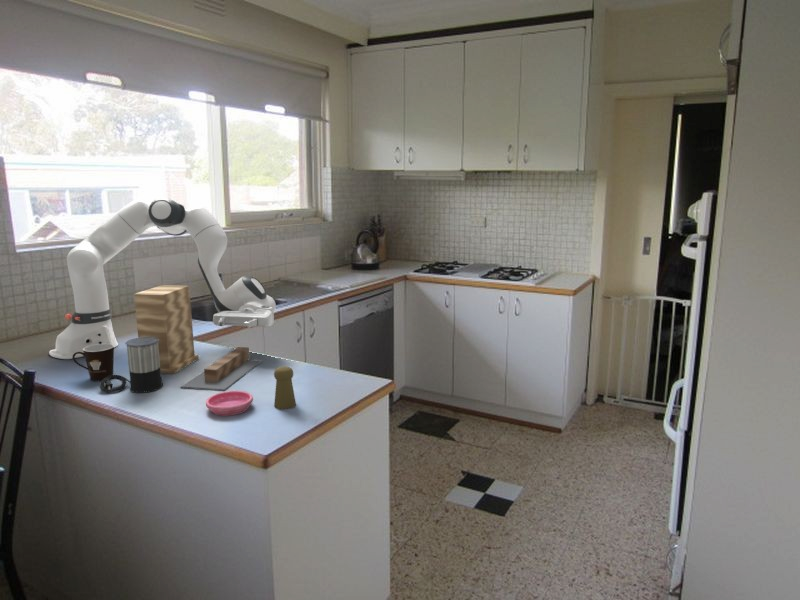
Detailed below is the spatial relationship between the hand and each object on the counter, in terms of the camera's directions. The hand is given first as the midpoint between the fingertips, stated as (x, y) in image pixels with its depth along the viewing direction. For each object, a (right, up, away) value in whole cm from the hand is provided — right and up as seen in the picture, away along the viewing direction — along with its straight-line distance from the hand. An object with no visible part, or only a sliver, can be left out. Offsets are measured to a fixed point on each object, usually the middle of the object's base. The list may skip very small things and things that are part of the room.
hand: (233, 324), depth 189 cm
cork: (+24, -21, -31) cm, 44 cm away
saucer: (+9, -22, -33) cm, 41 cm away
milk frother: (-25, -19, -18) cm, 36 cm away
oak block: (-23, -14, +3) cm, 27 cm away
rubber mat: (-1, -16, -6) cm, 17 cm away
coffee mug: (-40, -17, -9) cm, 45 cm away
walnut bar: (-1, -15, -3) cm, 15 cm away
